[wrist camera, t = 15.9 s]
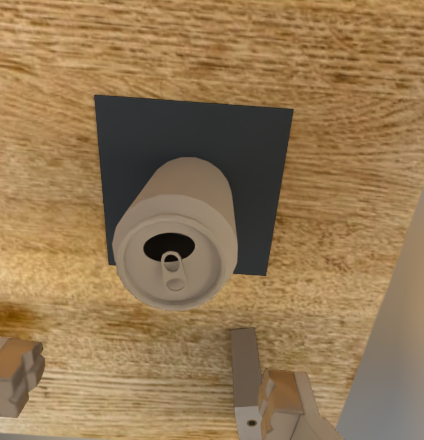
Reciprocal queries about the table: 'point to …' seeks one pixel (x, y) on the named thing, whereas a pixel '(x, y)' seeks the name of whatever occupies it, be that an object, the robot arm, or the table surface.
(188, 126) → the mat
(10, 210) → the table surface
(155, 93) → the table surface
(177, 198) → the can
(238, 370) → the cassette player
